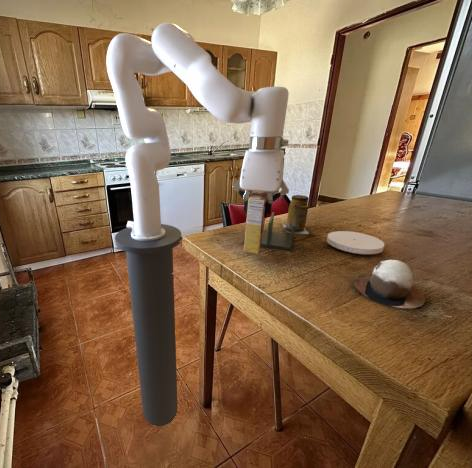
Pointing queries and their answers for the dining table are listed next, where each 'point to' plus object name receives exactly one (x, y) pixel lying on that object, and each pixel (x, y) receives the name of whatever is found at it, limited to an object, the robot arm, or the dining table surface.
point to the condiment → (297, 214)
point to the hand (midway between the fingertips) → (256, 214)
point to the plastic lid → (355, 242)
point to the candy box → (255, 222)
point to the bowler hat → (390, 285)
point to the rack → (278, 237)
